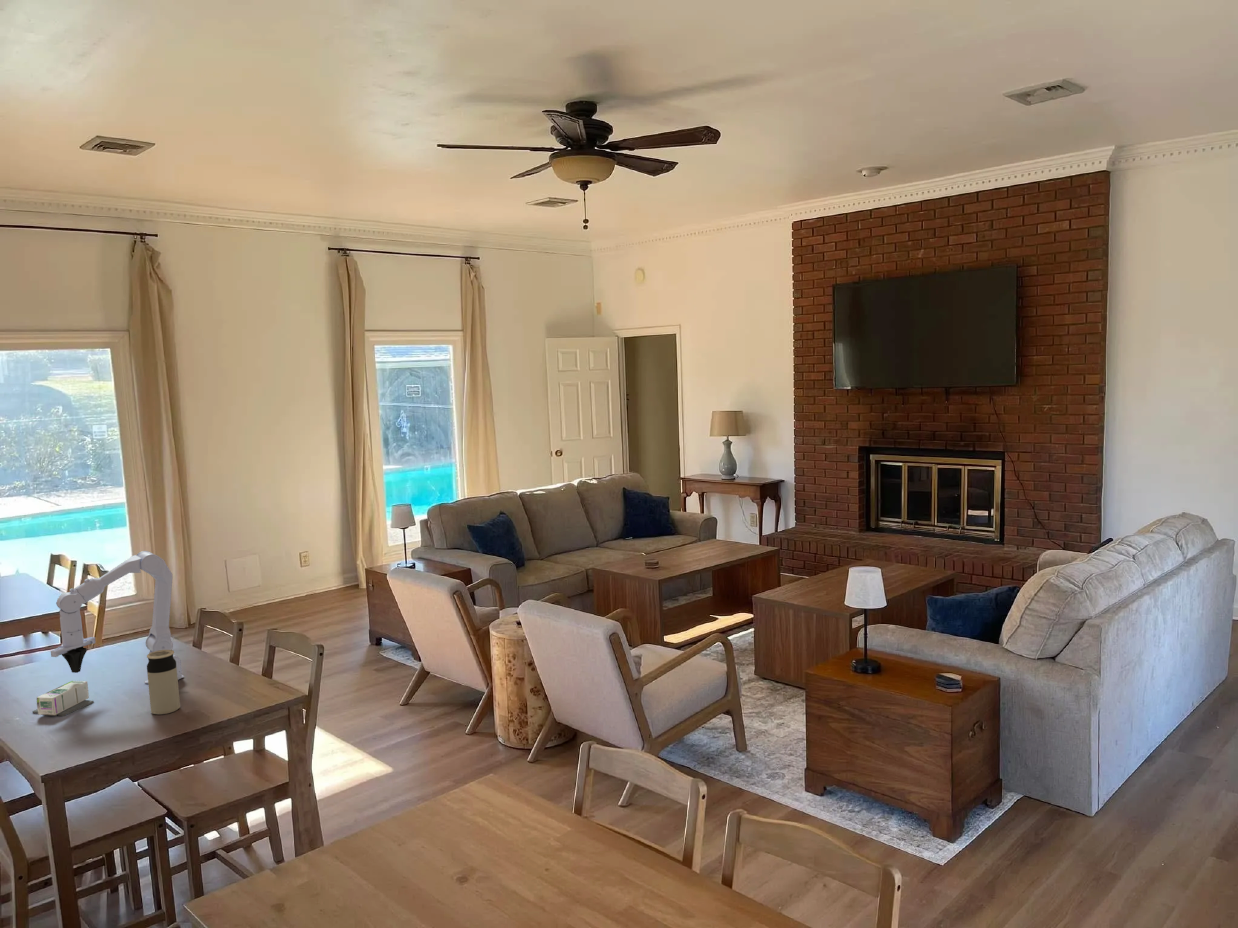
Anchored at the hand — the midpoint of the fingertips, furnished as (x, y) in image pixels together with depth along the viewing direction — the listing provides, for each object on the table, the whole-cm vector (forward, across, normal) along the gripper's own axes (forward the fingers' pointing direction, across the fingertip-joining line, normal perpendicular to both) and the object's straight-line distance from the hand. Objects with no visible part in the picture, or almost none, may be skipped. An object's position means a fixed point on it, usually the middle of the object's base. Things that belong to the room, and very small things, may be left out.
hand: (76, 671), depth 281 cm
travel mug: (+10, +1, +35) cm, 36 cm away
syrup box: (+6, -1, 0) cm, 6 cm away
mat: (+9, +6, 0) cm, 11 cm away
